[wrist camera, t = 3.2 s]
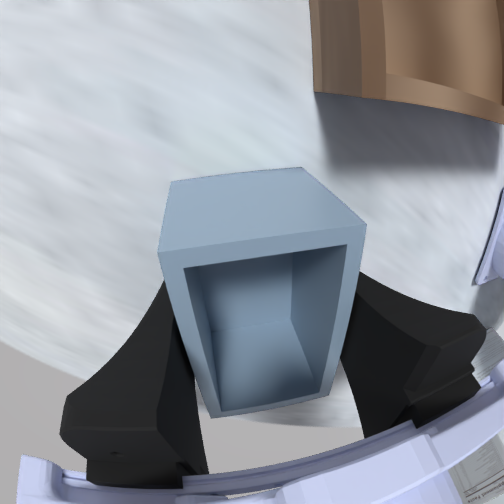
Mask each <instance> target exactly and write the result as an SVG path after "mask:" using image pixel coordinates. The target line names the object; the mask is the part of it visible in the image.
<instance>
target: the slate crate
mask: <svg viewBox="0 0 504 504" xmlns="http://www.w3.org/2000/svg"><path fill="white" fill-rule="evenodd" d="M366 227H367V224H366V223H365V222H364V221H363V220H362V219H361V218H360V217H359V216H358V215H357V214H355V213H354V212H353V211H352V210H351V209H350V208H349V207H348V206H347V205H346V204H344V203H343V202H342V201H341V200H340V199H339V198H338V197H337V196H335V195H334V194H333V193H332V192H331V191H330V190H328V189H327V188H326V187H325V186H324V185H323V184H321V183H320V182H319V181H318V180H317V179H316V178H314V177H313V176H312V175H311V174H310V173H308V172H307V171H306V170H305V169H304V168H302V167H297V168H284V169H272V170H261V171H251V172H242V173H233V174H224V175H216V176H208V177H201V178H194V179H187V180H180V181H174V182H171V185H170V189H169V194H168V199H167V203H166V208H165V213H164V218H163V224H162V229H161V234H160V240H159V246H158V252H157V253H158V257H159V261H160V265H161V269H162V272H163V276H164V280H165V283H166V287H167V291H168V294H169V298H170V301H171V304H172V308H173V311H174V314H175V318H176V321H177V324H178V327H179V331H180V334H181V337H182V340H183V343H184V346H185V349H186V352H187V355H188V358H189V361H190V364H191V367H192V369H193V372H194V375H195V378H196V380H197V383H198V386H199V389H200V391H201V394H202V397H203V399H204V402H205V404H206V407H207V410H208V412H209V415H210V417H211V418H220V417H227V416H234V415H240V414H247V413H252V412H258V411H263V410H269V409H274V408H278V407H283V406H288V405H292V404H296V403H301V402H305V401H309V400H313V399H317V398H320V397H324V396H328V395H329V393H330V390H331V387H332V383H333V380H334V376H335V373H336V369H337V366H338V362H339V358H340V355H341V351H342V347H343V343H344V339H345V335H346V331H347V327H348V323H349V318H350V314H351V309H352V305H353V300H354V295H355V291H356V286H357V280H358V275H359V270H360V264H361V258H362V253H363V247H364V240H365V234H366Z"/></svg>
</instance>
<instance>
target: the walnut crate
mask: <svg viewBox="0 0 504 504" xmlns="http://www.w3.org/2000/svg"><path fill="white" fill-rule="evenodd" d="M309 4H310V17H311V33H312V52H313V80H314V92H324V93H333V94H341V95H348V96H355V97H361V98H372V99H381V100H390V101H398V102H405V103H411V104H418V105H424V106H429V107H435V108H440V109H445V110H450V111H454V112H459V113H463V114H467V115H471V116H475V117H479V118H483V119H486V120H490V121H493V122H497V123H500V124H503V125H504V0H309Z"/></svg>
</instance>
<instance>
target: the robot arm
mask: <svg viewBox="0 0 504 504" xmlns="http://www.w3.org/2000/svg"><path fill="white" fill-rule="evenodd" d="M498 277H502V278H503V279H504V190H503V194H502V198H501V202H500V206H499V210H498V214H497V217H496V221H495V224H494V228H493V231H492V234H491V237H490V240H489V243H488V246H487V249H486V252H485V255H484V258H483V261H482V263H481V266H480V269H479V271H478V274H477V276H476V279H475V282H476V283H477V284H478V285H481V284H483V283H486V282H488V281H491V280H493V279H496V278H498ZM486 335H487V330H486V329H485V327H484V326H483V325H482V324H481V323H480V321H479V320H478V319H477V318H476V317H475V315H473V314H468V313H462V312H457V311H452V310H448V309H444V308H440V307H437V306H433V305H430V304H427V303H424V302H421V301H419V300H416V299H413V298H411V297H408V296H406V295H403V294H401V293H399V292H397V291H395V290H393V289H390V288H388V287H386V286H385V285H383V284H381V283H379V282H377V281H375V280H374V279H372V278H370V277H368V276H367V275H365V274H363V273H362V272H360V271H359V275H358V280H357V286H356V291H355V295H354V300H353V305H352V309H351V314H350V318H349V323H348V327H347V331H346V335H345V339H344V343H343V347H342V351H341V355H340V359H341V362H342V365H343V367H344V370H345V373H346V375H347V378H348V381H349V384H350V387H351V390H352V393H353V396H354V400H355V403H356V406H357V410H358V413H359V417H360V421H361V425H362V429H363V434H364V438H365V439H363V440H360V441H357V442H354V443H351V444H349V445H346V446H343V447H340V448H336V449H333V450H330V451H327V452H323V453H320V454H316V455H312V456H309V457H305V458H301V459H297V460H293V461H289V462H284V463H279V464H275V465H270V466H265V467H259V468H254V469H247V470H241V471H233V472H226V473H217V474H209V471H208V466H207V461H206V456H205V451H204V446H203V440H202V434H201V428H200V421H199V415H198V407H197V400H196V391H195V375H194V372H193V369H192V367H191V364H190V361H189V358H188V355H187V352H186V349H185V346H184V343H183V340H182V337H181V334H180V331H179V327H178V324H177V321H176V318H175V314H174V311H173V308H172V304H171V301H170V298H169V294H168V291H167V287H166V283H165V280H164V281H163V283H162V285H161V287H160V289H159V291H158V293H157V295H156V297H155V298H154V300H153V302H152V304H151V306H150V307H149V309H148V311H147V312H146V314H145V315H144V317H143V318H142V320H141V322H140V323H139V325H138V326H137V328H136V329H135V330H134V332H133V333H132V335H131V336H130V337H129V338H128V340H127V341H126V342H125V344H124V345H123V346H122V347H121V348H120V349H119V350H118V352H117V353H116V354H115V355H114V356H113V357H112V358H111V359H110V360H109V361H108V362H107V363H106V364H105V365H104V366H103V367H102V368H101V369H100V370H99V371H98V372H97V373H95V374H94V375H93V376H92V377H91V378H90V379H89V380H87V381H86V382H85V383H84V384H82V385H81V386H80V387H78V388H77V389H76V390H74V391H73V392H72V393H70V394H69V395H68V396H67V398H66V402H65V405H64V410H63V415H62V421H61V427H60V436H61V438H62V440H63V441H64V442H65V443H66V444H67V445H68V446H70V447H71V448H72V449H74V450H75V451H76V452H78V453H79V454H80V455H82V456H83V457H84V458H86V459H87V471H86V472H79V471H72V470H66V469H62V468H61V467H60V466H58V465H57V464H55V463H53V462H51V461H49V460H46V459H42V458H37V457H33V456H29V455H24V454H23V455H22V456H21V463H20V470H19V478H18V488H17V502H16V504H463V502H462V500H461V498H460V495H459V493H458V491H457V489H456V487H455V485H454V482H453V480H452V478H451V476H450V474H449V472H448V469H450V468H451V467H453V466H454V465H456V464H457V463H459V462H460V461H462V460H463V459H465V458H466V457H468V456H469V455H470V454H472V453H473V452H475V451H476V450H477V449H479V448H480V447H481V446H483V445H484V444H485V443H486V442H488V441H489V440H490V439H491V438H493V437H494V436H495V435H496V434H498V433H499V432H500V431H501V430H502V429H503V428H504V358H503V359H502V360H501V361H499V362H498V363H497V364H496V366H495V367H494V368H493V369H492V371H491V372H490V374H489V375H488V376H487V377H485V378H484V379H482V380H481V381H479V382H478V381H477V380H476V378H475V377H474V376H473V374H472V373H473V372H474V371H475V368H474V366H473V365H472V364H471V362H472V361H473V359H474V358H475V356H476V355H477V353H478V352H479V350H480V348H481V347H482V345H483V343H484V341H485V339H486ZM281 486H282V487H281ZM276 487H280V488H277V489H273V490H269V491H265V492H261V493H257V494H252V495H247V496H242V497H237V498H232V499H228V498H227V497H226V495H233V494H241V493H249V492H255V491H261V490H266V489H272V488H276Z"/></svg>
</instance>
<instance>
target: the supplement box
mask: <svg viewBox="0 0 504 504" xmlns="http://www.w3.org/2000/svg"><path fill="white" fill-rule="evenodd" d="M503 358H504V341H503V339H502V338H501V337H500V336H499V335H498V333H497V332H496V331H495V330H494V329H493V328H490V329H488V330H487V335H486V339H485V341H484V343H483V345H482V347H481V348H480V350H479V352H478V353H477V355H476V356H475V358H474V359H473V361H472V362H471V364H472V365H473V366H474V368H475V371H474V372H473V373H472V374H473V376H474V377H475V378H476V380H477V381H478V382H479V381H481V380H482V379H484V378H485V377H487V376H488V375H489V374H490V372H491V371H492V369H493V368H494V367H495V366H496V364H497V363H498V362H499V361H501V360H502V359H503ZM448 472H449V474H450V476H451V478H452V480H453V482H454V485H455V487H456V489H457V491H458V493H459V495H460V498H461V500H462V502H463V504H483V503H485V502H488V501H490V500H492V499H494V498H496V497H498V496H499V495H502V494H503V493H504V428H503V429H502V430H501V431H500V432H499V433H498V434H496V435H495V436H494V437H493V438H491V439H490V440H489V441H488V442H486V443H485V444H484V445H483V446H481V447H480V448H479V449H477V450H476V451H475V452H473V453H472V454H470V455H469V456H468V457H466V458H465V459H463V460H462V461H460V462H459V463H457V464H456V465H454V466H453V467H451V468H450V469H448Z"/></svg>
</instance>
